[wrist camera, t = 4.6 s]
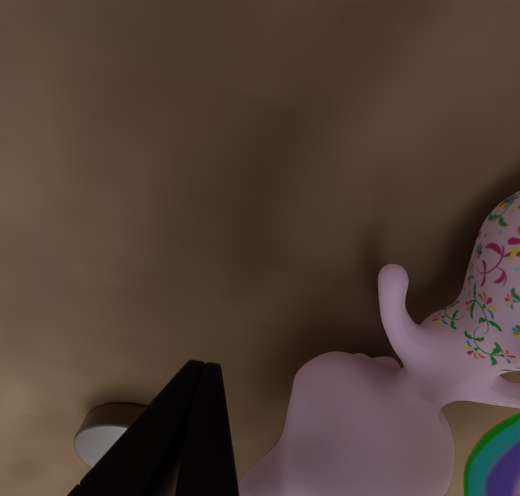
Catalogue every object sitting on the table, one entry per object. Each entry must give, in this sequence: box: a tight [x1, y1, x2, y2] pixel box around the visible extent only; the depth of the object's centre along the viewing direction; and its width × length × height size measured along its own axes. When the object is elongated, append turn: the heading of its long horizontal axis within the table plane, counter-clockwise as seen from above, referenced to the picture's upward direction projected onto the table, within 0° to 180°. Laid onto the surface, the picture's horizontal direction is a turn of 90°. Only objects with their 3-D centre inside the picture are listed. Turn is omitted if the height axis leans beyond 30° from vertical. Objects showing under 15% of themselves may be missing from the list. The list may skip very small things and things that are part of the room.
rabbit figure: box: [238, 191, 520, 496], centre depth 7 cm, size 6×6×15 cm
